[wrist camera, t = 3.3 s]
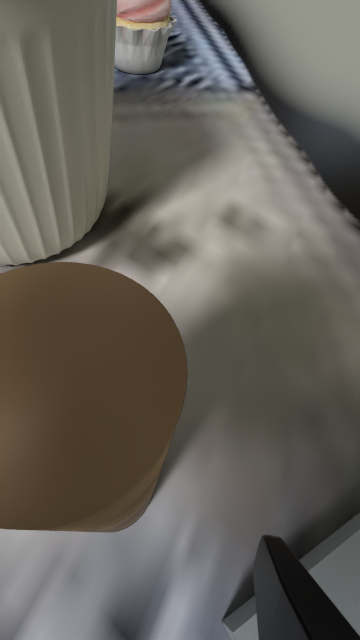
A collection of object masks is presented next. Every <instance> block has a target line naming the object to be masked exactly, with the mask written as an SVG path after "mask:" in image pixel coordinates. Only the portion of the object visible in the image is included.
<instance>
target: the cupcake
mask: <svg viewBox="0 0 360 640" xmlns="http://www.w3.org/2000/svg"><path fill="white" fill-rule="evenodd" d="M170 11H171V0H117V17H116V39H115V63H114V67H115V68H117V69H119V70H121V71H124V72H127V73H132V74H148V73H153V72H155V71H157V70H158V69H159V68H160V66H161V63H162V59H163V55H164V51H165V47H166V44H167V40H168V37H169V35H170V33H171V31H172V29H173V27H174V25H175V23H176V21H177V20H176V19H175V18H173V17H171V14H172V12H170Z"/></svg>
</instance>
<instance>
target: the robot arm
mask: <svg viewBox="0 0 360 640" xmlns="http://www.w3.org/2000/svg"><path fill="white" fill-rule="evenodd" d="M253 578H254V590H255V602H256V614H257V626H258V638H259V640H360V636H359V634H358V633H357V632H356V631H355V629H354V628H353V627H352V626H351V624H350V623H349V622H348V621H347V619H346V618H345V617H344V616H343V614H342V613H341V612H340V611H339V609H338V608H337V607H336V606H335V604H334V603H333V602H332V601H331V599H330V598H329V597H328V596H327V594H326V593H325V592H324V591H323V589H322V588H321V587H320V586H319V584H318V583H317V582H316V581H315V579H314V578H313V577H312V576H311V574H310V573H309V572H308V571H307V569H306V568H305V567H304V566H303V564H302V563H301V562H300V561H299V559H298V558H297V557H296V556H295V555H294V553H293V552H292V551H291V550H290V548H289V547H288V546H287V545H286V543H285V542H284V541H283V540H282V539H281V538H280V537H277V536H271V535H263V536H262V537H261V539H260V543H259V546H258V550H257V553H256V557H255V561H254V566H253Z"/></svg>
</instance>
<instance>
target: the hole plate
mask: <svg viewBox="0 0 360 640" xmlns="http://www.w3.org/2000/svg"><path fill="white" fill-rule="evenodd" d="M299 561H300V562H301V563H302V564H303V566H304V567H305V568H306V569H307V571H308V572H309V573H310V574H311V576H312V577H313V578H314V579H315V581H316V582H317V583H318V584H319V586H320V587H321V588H322V589H323V591H324V592H325V593H326V594H327V596H328V597H329V598H330V599H331V601H332V602H333V603H334V604H335V606H336V607H337V608H338V609H339V611H340V612H341V613H342V614H343V616H344V617H345V618H346V619H347V621H348V622H349V623H350V624H351V626H352V627H353V628H354V629H355V631H356V632H357V633H358V634H359V636H360V512H359V513H358V514H357V515H356V516H354V517H353V518H352V519H350V520H349V521H348V522H347V523H345V524H344V525H343V526H342V527H340V528H339V529H338V530H337V531H335V532H334V533H333V534H331V535H330V536H329V537H328V538H326V539H325V540H324V541H323V542H321V543H320V544H319V545H318V546H316V547H315V548H314V549H312V550H311V551H310V552H309V553H307V554H306V555H305V556H304V557H302V558H301V559H300V560H299ZM222 623H223V625H224V627H225V629H226V631H227V633H228V636H229V638H230V640H259V638H258V626H257V614H256V602H255V595H254V596H253V597H252V598H250V599H249V600H248V601H247V602H245V603H244V604H243V605H242V606H240V607H239V608H238V609H236V610H235V611H234V612H233V613H231V614H230V615H229V616H228V617H226V618H225V619H224V620H223V621H222Z"/></svg>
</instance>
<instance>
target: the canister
mask: <svg viewBox="0 0 360 640" xmlns="http://www.w3.org/2000/svg"><path fill="white" fill-rule="evenodd" d="M116 17H117V0H0V266H4V265H19V264H22V263H33V262H34V261H36V260H40V259H46V258H47V257H49V256H51V255H55V254H59V253H60V252H61V251H62V250H64V249H66V248H70V247H71V246H72V245H73V244H74V243H75V242H77V241H79V240H81V239H82V238H83V236H84V234H86V233H87V232H89V231H90V229H91V228H92V226H93V224H94V223H95V222H96V221H97V219H98V217H99V215H100V212H101V210H102V208H103V206H104V203H105V198H106V192H107V187H108V178H109V164H110V149H111V134H112V114H113V91H114V63H115V39H116Z"/></svg>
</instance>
